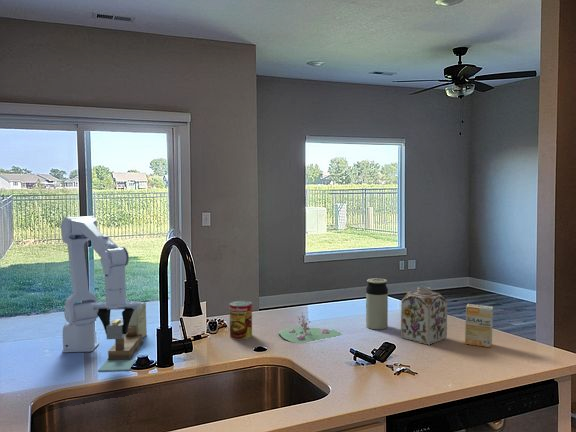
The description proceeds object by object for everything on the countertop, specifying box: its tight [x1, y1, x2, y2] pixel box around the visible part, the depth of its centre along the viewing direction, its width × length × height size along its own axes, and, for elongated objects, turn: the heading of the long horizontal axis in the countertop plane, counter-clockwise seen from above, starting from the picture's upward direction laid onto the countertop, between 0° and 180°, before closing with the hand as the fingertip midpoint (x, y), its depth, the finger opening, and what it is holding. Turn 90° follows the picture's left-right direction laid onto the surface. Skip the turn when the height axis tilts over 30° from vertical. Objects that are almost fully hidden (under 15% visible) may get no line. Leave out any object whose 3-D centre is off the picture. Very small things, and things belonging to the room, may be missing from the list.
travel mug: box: [365, 277, 389, 331], centre depth 186 cm, size 8×8×18 cm
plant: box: [277, 312, 342, 344], centre depth 178 cm, size 25×21×9 cm
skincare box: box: [129, 301, 148, 339], centre depth 176 cm, size 6×4×12 cm
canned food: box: [229, 300, 253, 340], centre depth 176 cm, size 8×8×12 cm
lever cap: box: [105, 318, 128, 340], centre depth 148 cm, size 4×6×5 cm
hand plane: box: [106, 326, 144, 361], centre depth 161 cm, size 17×7×7 cm, turn 4°
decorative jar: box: [400, 286, 448, 346], centre depth 172 cm, size 12×12×18 cm
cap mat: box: [97, 359, 137, 373], centre depth 148 cm, size 9×8×1 cm
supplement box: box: [464, 303, 494, 348], centre depth 165 cm, size 8×5×13 cm, turn 62°
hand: (116, 333), depth 147 cm, fingers closed on lever cap, 4 cm apart
